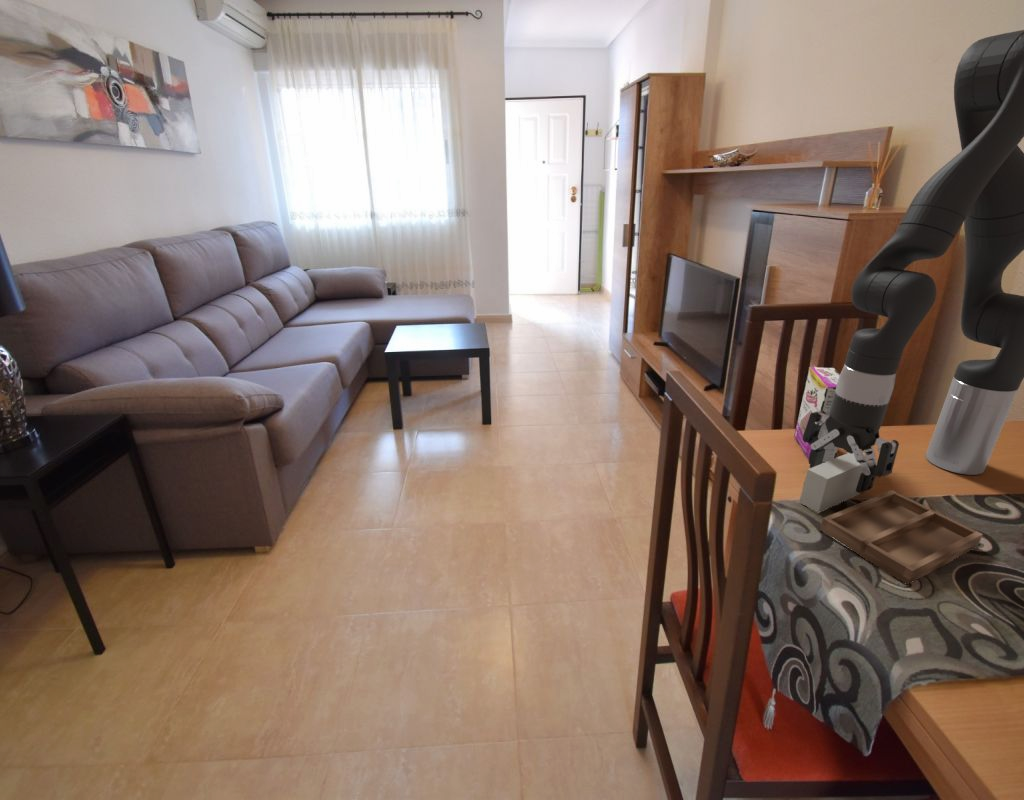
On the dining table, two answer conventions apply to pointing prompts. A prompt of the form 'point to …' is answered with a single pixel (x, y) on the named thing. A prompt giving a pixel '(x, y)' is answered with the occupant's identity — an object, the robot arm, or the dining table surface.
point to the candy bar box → (817, 406)
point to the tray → (901, 535)
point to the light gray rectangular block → (831, 482)
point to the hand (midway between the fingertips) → (837, 479)
